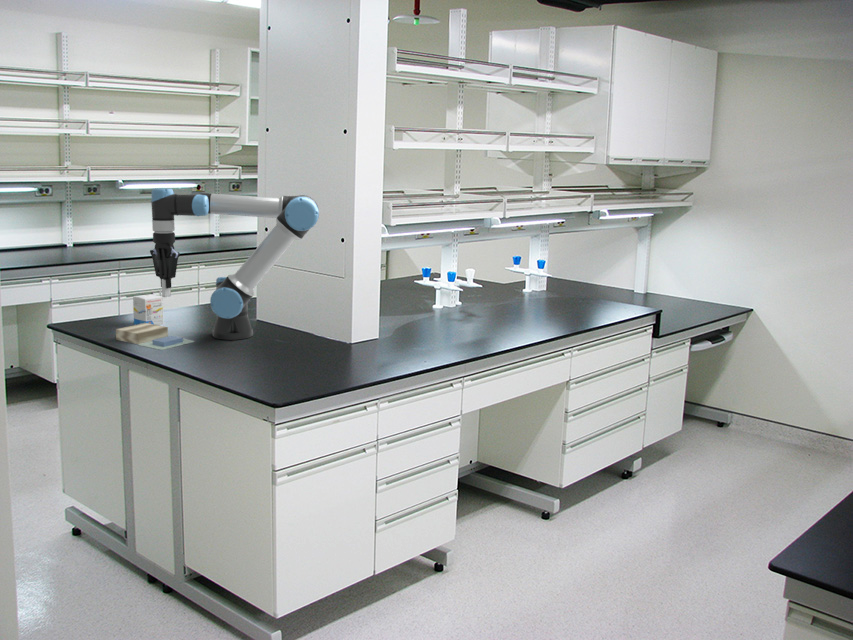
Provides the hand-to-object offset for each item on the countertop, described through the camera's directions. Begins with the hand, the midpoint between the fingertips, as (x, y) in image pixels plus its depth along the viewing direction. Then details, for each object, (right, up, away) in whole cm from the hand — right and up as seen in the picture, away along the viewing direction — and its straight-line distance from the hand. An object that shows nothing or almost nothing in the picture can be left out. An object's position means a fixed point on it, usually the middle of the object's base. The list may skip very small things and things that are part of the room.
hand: (166, 296), depth 294 cm
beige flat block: (-12, -16, +10) cm, 22 cm away
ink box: (-18, -11, +34) cm, 40 cm away
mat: (-1, -17, +4) cm, 18 cm away
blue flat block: (-1, -16, +3) cm, 16 cm away
